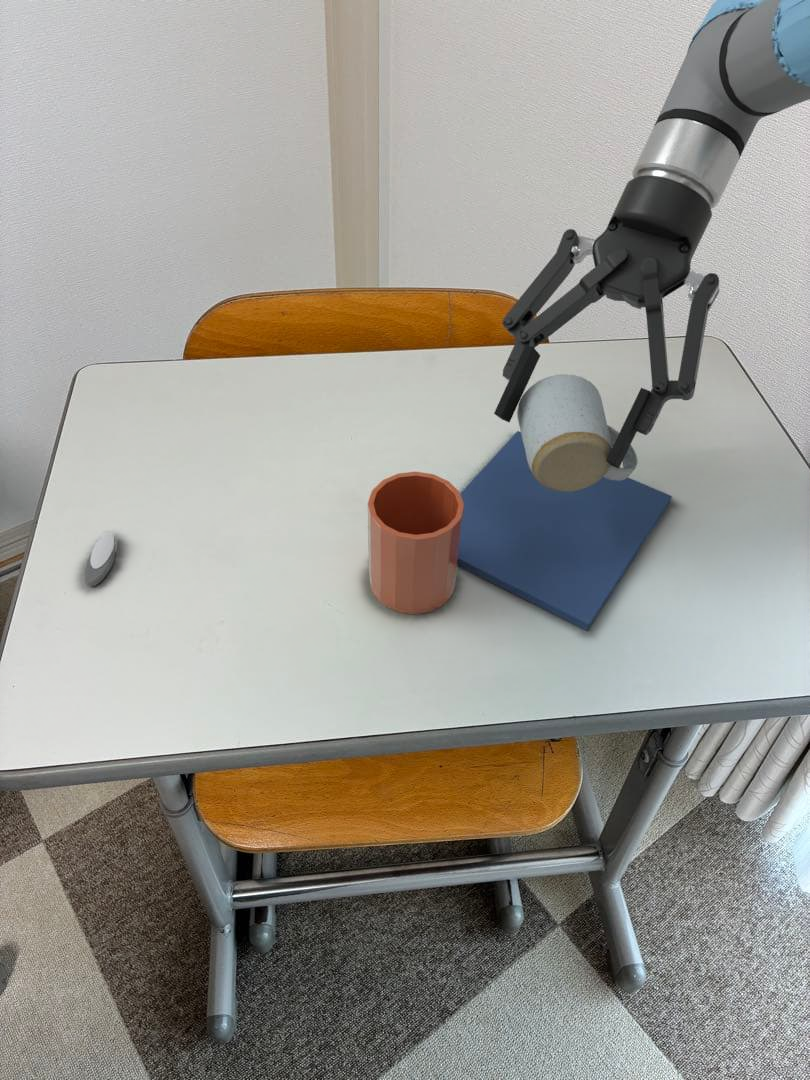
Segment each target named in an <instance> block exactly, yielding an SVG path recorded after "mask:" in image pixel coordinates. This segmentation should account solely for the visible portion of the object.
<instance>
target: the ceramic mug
mask: <svg viewBox="0 0 810 1080" xmlns="http://www.w3.org/2000/svg"><path fill="white" fill-rule="evenodd" d="M602 399H603V398H602V395H601V394H600V391H599V390H598V388H597V387H596V386H595V384H593V383H592V382H591V381H590V380H588V379H586V378H584V377H582V376H579V375H575V374H568V373H562V374H554V375H551V376H548V377H544V378H542V379H540V380H538V381H536V382H535V383H534V384H532V385H531V386H530V387H529V388H527V390H526V391H524V392H523V394H522V397H521V399H520V401H519V403H518V405H517V409H516V417H517V422H518V426H519V432H521V435H522V440H523V444H524V447H525V451H526V457H527V461H528V464H529V467H530V469H531V471H532V473H533V475H534V477H535V479H536V480H537V481H538V482H539V483H540V484H541V485H543V486H544V487H546V488H549V489H551V490H554V491H560V492H572V491H578V490H581V489H584V488H587V487H589V486H591V485H593V484H595V483H596V482H597V481H599V480H600V479H601V478H602V477H604V478H606V479H609V480H615V481H622V480H625V479H626V478H627V477H628V478H629V476H630V475H631V474H632V473H633V472H634V471H635V470H636V468H637V467H638V456H637V453H636V450H635V448H634V446H633V445H632V444H631V445H630V447H629V449H628V451H627V453H626V455H625V457H624V459H623V461H622V467H621V466H620V467H619V469H618V468H616V467H613V466H611V465H610V464H609V463H608V462H607V461H606V460H607V458H608V456H609V454H610V452H611V449H612V447H613V445H614V443H615V441H616V439H617V437H618V435H619V433H620V431H618V430H616V429H615V428H614V427H612V426H611V425H609V424H608V422H607V417H606V412H605V409H604V404H603V400H602Z"/></svg>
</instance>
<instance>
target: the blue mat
mask: <svg viewBox="0 0 810 1080" xmlns="http://www.w3.org/2000/svg"><path fill="white" fill-rule="evenodd" d="M460 494H461V497H462V500H463V503H464V512H463V522H462V531H461V540H460V549H459V558H458V567H461V568H462V569H465V570H467V571H468V572H471V573H472V574H474V575H476V576H478V577H480V578H482V579H483V580H486V581H488V582H490V583H492V584H494V585H495V586H498V587H499V588H502V589H504V590H506V591H508V592H510V593H512V594H514V595H516V596H517V597H520V598H522V599H523V600H525V601H527V602H530V603H531V604H534V605H535V606H537V607H539V608H541V609H543V610H545V611H547V612H549V613H551V614H553V615H555V616H557V617H559V618H560V619H563V620H565V621H567V622H569V623H571V624H573V625H575V626H576V627H579V628H580V629H582V630H584V631H588V630H589V629H590V627H591V625H593V622H594V621H595V620H596V618H597V617H598V615H599V613H600V612H601V610H602V609H603V608H604V606H605V604H606V603H607V601H608V599H609V598H610V596H611V595H612V593H613V592H614V590H615V589H616V587H617V586H618V584H619V582H620V581H621V579H622V578H623V576H624V574H626V572H627V570H628V569H629V567H630V565H631V564H632V562H633V561H634V559H635V557H636V556H637V555H638V553H639V551H640V550H641V548H642V547H643V545H644V544H645V542H646V540H647V539H648V538H649V536H650V535H651V533H652V531H653V530H654V528H655V527H656V525H657V523H658V522H659V521H660V519H661V517H662V515H663V514H664V512H665V511H666V510H667V508H668V507H669V505H670V503H671V500H672V498H673V496H672V495H671V494H668V493H666V492H663V491H661V490H659V489H656V488H654V487H652V486H649V485H647V484H645V483H642V482H640V481H638V480H635V479H633V478H630V477H629V476H628V477H627V478H626V479H625V480H622V481H615V480H609V479H606V478H604V477H602V478H601V479H600V480H599V481H597V482H596V483H595V484H593V485H591V486H589V487H587V488H584V489H581V490H578V491H572V492H560V491H554V490H551V489H549V488H546V487H544V486H543V485H541V484H540V483H539V482H538V481H537V480H536V479H535V477H534V475H533V473H532V471H531V469H530V467H529V464H528V461H527V457H526V451H525V447H524V444H523V440H522V435H521V431H520V430H517V431H516V432H515V433H514V434H513V435H512V436H511V438H509V440H508V441H506V443H505V444H504V445H502V447H501V448H500V450H498V452H497V453H495V455H494V456H493V457H492V458H491V459H490V460H489V461H488V462H487V464H486V465H485V466H484V467H483V468H482V469H481V470H480V471H479V472H478V474H477V475H476V476H475V477H474V478H473V479H472V480H471V481H470V482H469V483H468V484H467V485H466V486H465V488H464V489H463V490H462V491H460Z"/></svg>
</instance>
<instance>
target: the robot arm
mask: <svg viewBox="0 0 810 1080" xmlns="http://www.w3.org/2000/svg"><path fill="white" fill-rule="evenodd" d="M806 101H810V0H715V1H714V2H713V3H712V4H711V6H710V8H709V9H708V11H707V13H706V14H705V17H704V19H703V20H702V22H701V24H700V25H699V27H698V28H697V29H696V31H695V32H694V34H693V35H692V38H691V41H690V43H689V44H688V49H687V53H686V55H685V57H684V59H683V62H682V64H681V66H680V68H679V70H678V73H677V75H676V77H675V79H674V82H673V84H672V86H671V88H670V91H669V93H668V94H667V97H666V100H665V101H664V104H663V106H662V108H661V110H660V111H659V115H658V116H657V119H656V121H655V123H654V125H653V126H652V130H651V131H650V134H649V136H648V138H647V140H646V142H645V144H644V146H643V148H642V150H641V153H640V155H639V157H638V159H637V161H636V163H635V165H634V167H633V170H632V179H630V180H628V181H627V182H626V185H625V187H624V189H623V191H622V194H621V196H620V198H619V199H618V202H617V204H616V206H615V208H614V211H613V213H612V215H611V217H610V219H609V222H608V224H607V226H606V228H605V230H604V231H603V232H602V233H601V234H600V235H599V236H597V238H596V239H594V238H590V237H586V236H583V235H582V236H581V235H578V233H577V231H576V230H575V229H573V228H568V229H566V230H565V231H564V232H563V234H562V236H561V239H560V242H559V243H558V247H557V249H556V251H555V253H554V255H553V256H552V257H551V259H550V260H549V261H547V263H546V265H544V267H543V268H542V270H540V272H539V274H538V275H537V276H536V277H535V278H534V280H533V281H532V282H531V283H530V285H529V286H528V287H527V289H526V290H525V291H524V292H523V293H522V294H521V296H520V297H519V298H518V300H517V301H516V302H515V303H514V304H513V306H512V307H511V308H510V310H508V312H507V313H506V315H505V316H504V317H503V319H502V323H501V324H502V326H503V327H504V328H505V330H506V331H507V332H508V333H509V334H510V335H511V336H512V337H513V338H514V345H513V347H512V349H511V351H510V354H509V356H508V358H507V360H506V363H505V364H504V366H503V369H502V377H503V378H504V379H505V380H507V381H508V382H507V384H506V386H505V388H504V390H503V393H502V395H501V397H500V399H499V401H498V404H497V406H496V408H495V410H494V412H493V414H494V415H495V416H497V418H499V419H500V420H502V421H505V422H506V423H510V422H511V421H512V418H513V416H514V414H515V411H516V410H517V408H518V405H519V402H520V400H521V398H522V396H523V395H524V393H525V390H526V388H527V386H528V384H529V382H530V379H531V377H532V375H533V374H534V373H533V372H534V371H535V369H536V367H537V364H538V362H539V360H540V358H541V354H540V353H539V352H538V351H537V349H535V348H536V347H537V346H539V345H540V344H542V343H543V342H544V341H546V340H547V339H548V338H549V337H551V336H552V335H553V334H554V333H556V332H558V330H559V329H561V328H562V327H563V326H564V325H566V324H568V323H569V322H570V321H571V320H572V319H573V318H575V317H576V316H577V315H579V314H580V313H581V312H583V311H584V310H585V309H587V308H588V306H590V305H591V304H595V303H597V302H599V301H600V300H601V299H603V297H606V298H607V299H609V300H612V301H615V302H624V303H626V304H628V305H629V306H631V307H632V308H636V309H638V310H641V309H642V308H644V309H645V314H646V315H645V316H646V326H647V327H646V329H647V339H648V350H649V351H648V353H649V362H650V373H651V375H650V376H651V390H648V389H646V388H643V387H640V389H639V391H638V393H637V396H636V398H635V400H634V402H633V404H632V406H631V408H630V410H629V412H628V414H627V416H626V418H625V420H624V423H623V425H622V427H621V428H620V431H619V435H618V437H617V439H616V441H615V443H614V445H613V447H612V449H611V452H610V454H609V456H608V458H607V460H606V461H607V462H608V463H609V464H610V465H611V466H613V467H616V468H618V469H619V467H620V468H621V465H622V464H623V459H624V457H625V455H626V453H627V451H628V449H629V447H630V445H632V442H633V441H634V438H635V436H636V434H637V433H639V434H642V435H645V436H647V435H649V433H650V432H652V430H653V428H654V426H655V423H656V422H657V419H658V418H659V416H660V414H661V412H662V409H663V407H664V405H665V404H666V403H667V402H668V401H669V400H682V401H690V400H691V399H692V398H693V397H694V395H695V390H696V384H697V379H698V372H699V367H700V362H701V355H702V350H703V343H704V337H705V331H706V327H707V321H708V315H709V311H710V309H711V308H712V306H713V304H714V302H715V300H716V299H717V297H718V295H719V294H720V293H719V292H720V278H719V275H718V274H717V273H714V272H709V273H707V274H704V273H702V272H698V271H695V270H693V269H691V264H692V259H693V257H694V255H695V253H696V251H697V249H698V246H699V244H700V242H701V240H702V238H703V236H704V234H705V232H706V230H707V229H708V226H709V224H710V222H711V219H712V217H713V212H712V209H714V208H716V207H717V205H718V204H719V202H720V200H721V198H722V196H723V194H724V192H725V191H726V188H727V186H728V184H729V182H730V181H731V178H732V175H733V173H734V171H735V169H736V167H737V165H738V163H739V160H740V158H741V156H742V155H743V152H744V150H745V148H746V146H747V144H748V142H749V141H750V138H751V136H752V134H753V132H754V130H755V128H756V126H757V124H758V122H759V121H760V120H761V119H763V118H766V117H768V116H773V115H775V114H777V113H779V112H782V111H784V110H786V109H789V108H791V107H794V106H796V105H798V104H801V103H804V102H806ZM590 255H592V259H593V264H594V268H592V269H591V270H589V272H587V273H586V274H584V275H583V277H581V278H580V280H579V282H578V283H577V284H576V285H575V286H573V287H572V288H571V289H569V290H568V291H567V292H566V293H564V295H562V296H561V297H560V298H558V299H557V300H556V301H555V302H553V303H552V304H551V305H550V306H548V307H547V308H546V309H544V311H542V312H541V313H540V314H538V313H539V312H540V311H541V309H542V308H543V307H544V306H545V304H546V303H547V302H548V301H549V300H550V298H552V296H554V294H555V292H556V291H557V290H558V289H559V288H560V287H561V285H562V284H563V282H564V281H565V280H566V279H567V278H568V276H569V275H570V273H571V272H572V271H573V269H574V267H575V265H576V264H581V263H582V262H583V261H584V260H585V258H586V257H587V256H590ZM683 286H687V287H688V289H687V297H688V300H689V301H690V302H691V304H690V307H689V313H688V320H687V324H686V325H687V326H686V331H685V337H684V343H683V349H682V355H681V361H680V367H679V372H678V378H677V380H673V379H671V380H670V375H669V365H668V352H667V339H666V327H665V312H664V302H663V299H665V297H667V296H669V295H671V294H672V293H673V292H676V291H677V290H679V289H680V288H682V287H683ZM537 314H538V315H537Z"/></svg>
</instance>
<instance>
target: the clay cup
mask: <svg viewBox="0 0 810 1080" xmlns="http://www.w3.org/2000/svg"><path fill="white" fill-rule="evenodd" d="M460 493H461V491H459V489H457V487H455V485H453V484H452V483H451V482H450V481H449V480H447V479H445V478H443V477H441V476H439V475H436V474H434V473H428V472H422V471H407V472H399V473H396V474H393V475H391V476H389V477H387V478H384V479H382V480H381V481H380V482H379V483H378V484H377V485H376V486H375V487H373V489H372V490H371V492H370V495H369V498H368V500H367V543H368V545H367V547H368V553H367V554H368V577H369V586H370V590H371V592H372V594H373V596H374V597H375V598H376V599H377V600H378V602H379V603H381V604H382V605H383V606H385V607H386V608H388V609H390V610H391V611H394V612H398V613H402V614H406V615H407V614H409V615H421V614H426V613H430V612H433V611H435V610H438V609H439V608H440V607H442V606H443V605H445V604H446V603H447V602H448V601H449V600H450V598H451V597H452V595H453V594H454V591H455V587H456V581H457V576H458V567H459V565H458V558H459V549H460V540H461V531H462V522H463V512H464V503H463V500H462V497H461V494H460Z"/></svg>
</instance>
